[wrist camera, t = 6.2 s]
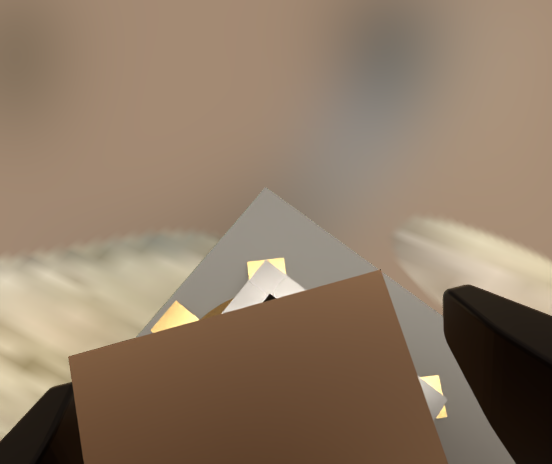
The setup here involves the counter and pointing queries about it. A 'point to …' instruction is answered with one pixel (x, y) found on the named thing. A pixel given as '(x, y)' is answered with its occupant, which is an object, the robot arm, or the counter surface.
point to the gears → (270, 285)
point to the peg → (262, 387)
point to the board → (328, 269)
